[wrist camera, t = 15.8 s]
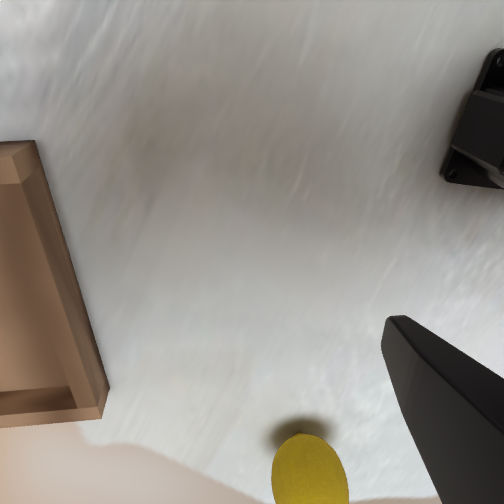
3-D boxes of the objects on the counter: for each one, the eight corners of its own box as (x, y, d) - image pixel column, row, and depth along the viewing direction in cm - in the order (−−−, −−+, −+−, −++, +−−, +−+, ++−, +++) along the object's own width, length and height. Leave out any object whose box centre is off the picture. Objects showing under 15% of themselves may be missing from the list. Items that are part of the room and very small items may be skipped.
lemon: (252, 430, 32) (264, 544, 25) (313, 402, 31) (343, 513, 24) (285, 461, 34) (304, 571, 28) (342, 436, 33) (376, 545, 26)
